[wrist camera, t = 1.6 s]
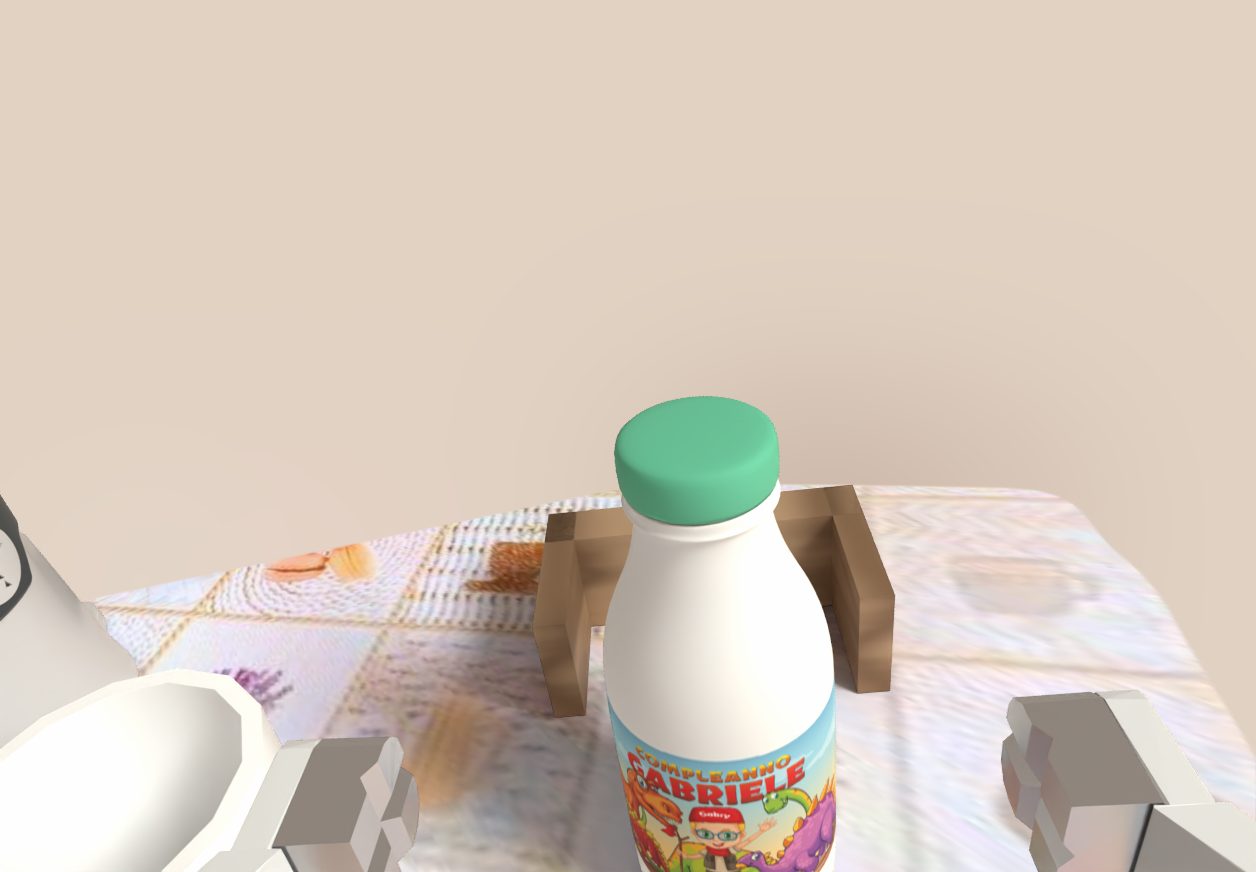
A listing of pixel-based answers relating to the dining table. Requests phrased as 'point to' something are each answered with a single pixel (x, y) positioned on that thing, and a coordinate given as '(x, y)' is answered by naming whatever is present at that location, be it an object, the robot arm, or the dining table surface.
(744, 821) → the milk bottle
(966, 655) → the dining table surface
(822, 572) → the walnut dock
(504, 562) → the dining table surface
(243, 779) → the foam cup
